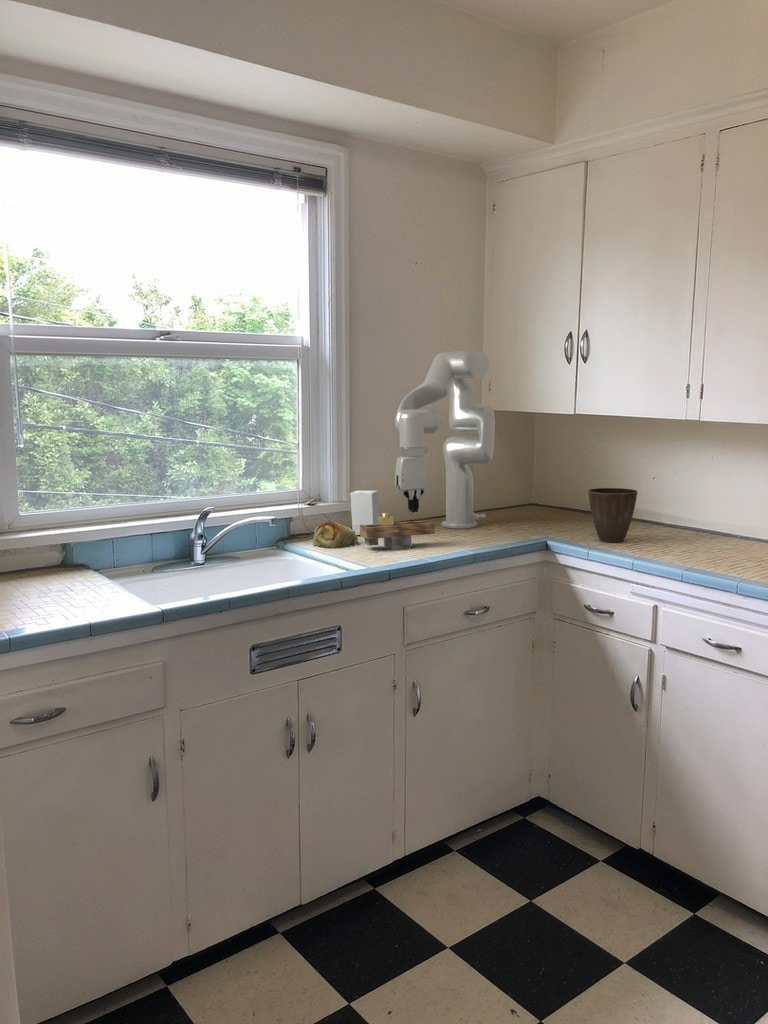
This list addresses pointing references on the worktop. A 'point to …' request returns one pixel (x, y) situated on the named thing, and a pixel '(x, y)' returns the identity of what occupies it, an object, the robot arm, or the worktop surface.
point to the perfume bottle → (385, 520)
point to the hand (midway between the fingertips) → (413, 511)
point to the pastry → (334, 535)
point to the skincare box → (364, 509)
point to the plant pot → (612, 512)
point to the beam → (396, 533)
